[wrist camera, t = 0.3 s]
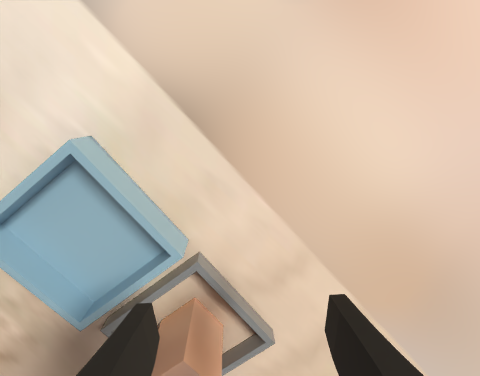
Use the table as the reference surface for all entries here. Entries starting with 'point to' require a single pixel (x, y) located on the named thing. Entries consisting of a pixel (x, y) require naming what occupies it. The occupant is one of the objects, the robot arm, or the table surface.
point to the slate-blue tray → (84, 233)
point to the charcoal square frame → (225, 290)
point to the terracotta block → (189, 343)
